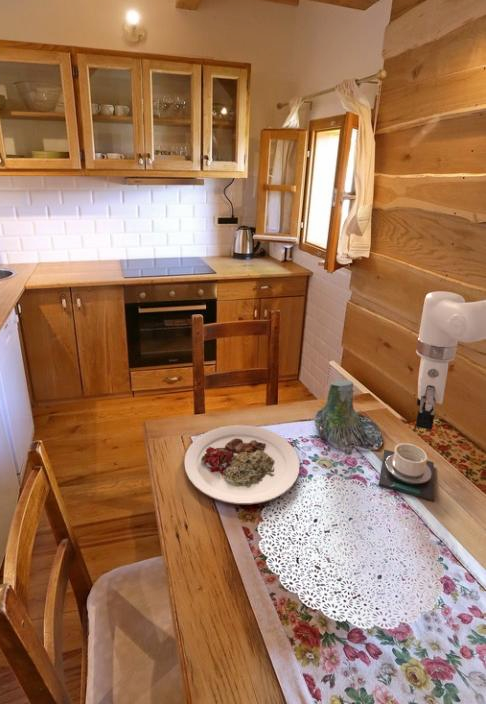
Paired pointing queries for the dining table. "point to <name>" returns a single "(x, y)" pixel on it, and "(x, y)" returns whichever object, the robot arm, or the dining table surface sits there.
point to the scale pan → (405, 478)
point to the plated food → (241, 464)
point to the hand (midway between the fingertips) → (423, 416)
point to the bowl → (409, 459)
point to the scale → (414, 490)
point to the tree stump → (346, 421)
